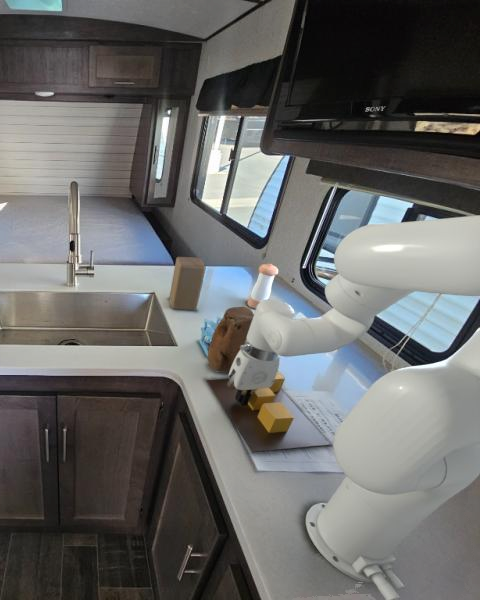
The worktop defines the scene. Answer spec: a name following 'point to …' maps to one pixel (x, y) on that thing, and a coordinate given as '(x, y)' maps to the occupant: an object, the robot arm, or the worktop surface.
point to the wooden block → (187, 283)
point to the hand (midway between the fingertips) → (240, 401)
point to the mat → (254, 430)
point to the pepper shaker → (262, 285)
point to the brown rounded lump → (229, 338)
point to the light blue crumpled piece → (208, 332)
